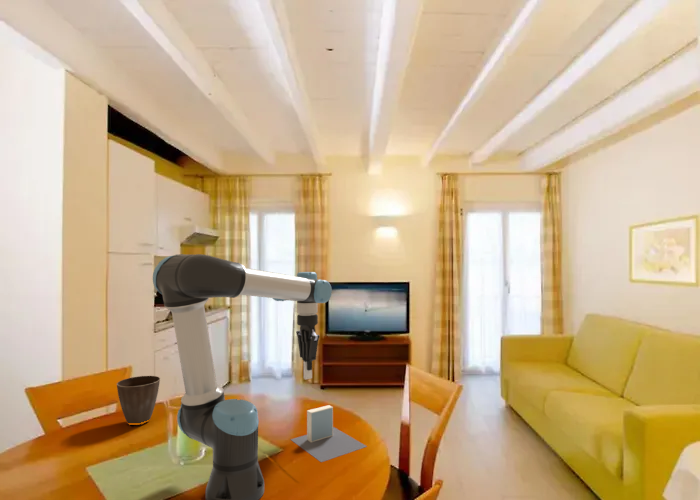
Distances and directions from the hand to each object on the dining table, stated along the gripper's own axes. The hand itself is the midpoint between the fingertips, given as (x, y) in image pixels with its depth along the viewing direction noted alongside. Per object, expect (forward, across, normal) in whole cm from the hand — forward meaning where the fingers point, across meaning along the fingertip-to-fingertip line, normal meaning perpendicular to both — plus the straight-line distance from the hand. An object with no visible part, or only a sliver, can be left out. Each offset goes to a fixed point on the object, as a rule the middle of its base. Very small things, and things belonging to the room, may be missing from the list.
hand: (307, 378), depth 152 cm
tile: (+18, -9, 0) cm, 20 cm away
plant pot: (+19, +46, +49) cm, 69 cm away
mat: (+19, -14, 0) cm, 24 cm away
